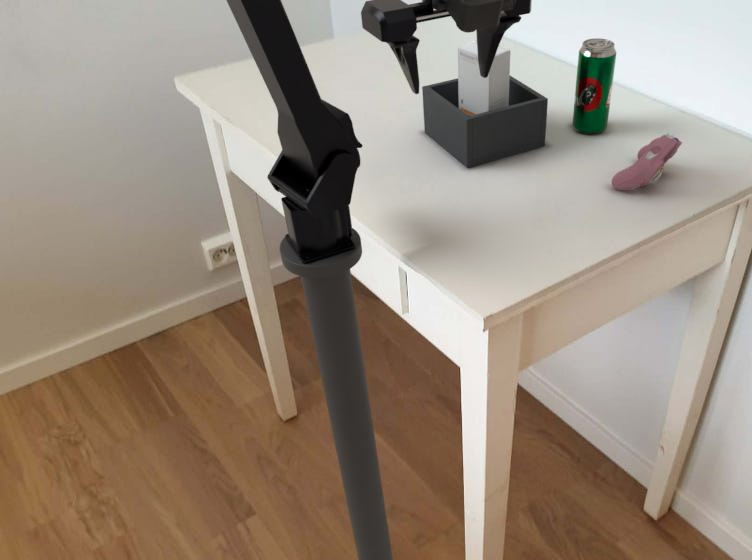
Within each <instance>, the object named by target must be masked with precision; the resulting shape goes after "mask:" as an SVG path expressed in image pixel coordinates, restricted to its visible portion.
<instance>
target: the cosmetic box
mask: <svg viewBox="0 0 752 560" xmlns="http://www.w3.org/2000/svg"><path fill="white" fill-rule="evenodd" d="M510 70H511V50H510V49H509V48H506V47H502V46H500V45H499V46H498V49H497V52H496V54H495V57H494V60H493V63H492V66H491V68H490V71H489V74H488V77H487V78H483V77H482V76H481V75H480V70H479V64H478V50H477V39H475V40H473V41H470V42H467V43H464V44H462V45H460V46H457V75H458V76H457V78H458V95H459V109H460V110H461V111H462V112H464V113H465V114H467V115H468V116H472V115H476V114H480V113H484V112H488V111H492V110H495V109H499V108H503V107H507V106H509V76H511V75H510V73H511V71H510Z"/></svg>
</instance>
